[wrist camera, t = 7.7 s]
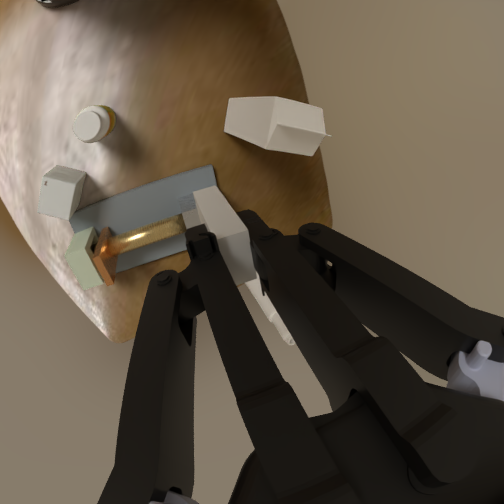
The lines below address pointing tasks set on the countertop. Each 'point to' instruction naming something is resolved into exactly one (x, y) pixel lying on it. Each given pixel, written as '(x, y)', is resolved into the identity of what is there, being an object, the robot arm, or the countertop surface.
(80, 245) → the socket
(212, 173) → the board
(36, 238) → the countertop surface
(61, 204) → the product box
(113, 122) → the supplement bottle
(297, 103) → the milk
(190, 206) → the grey cube end cap
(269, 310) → the cosmetic bottle
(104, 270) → the tube
